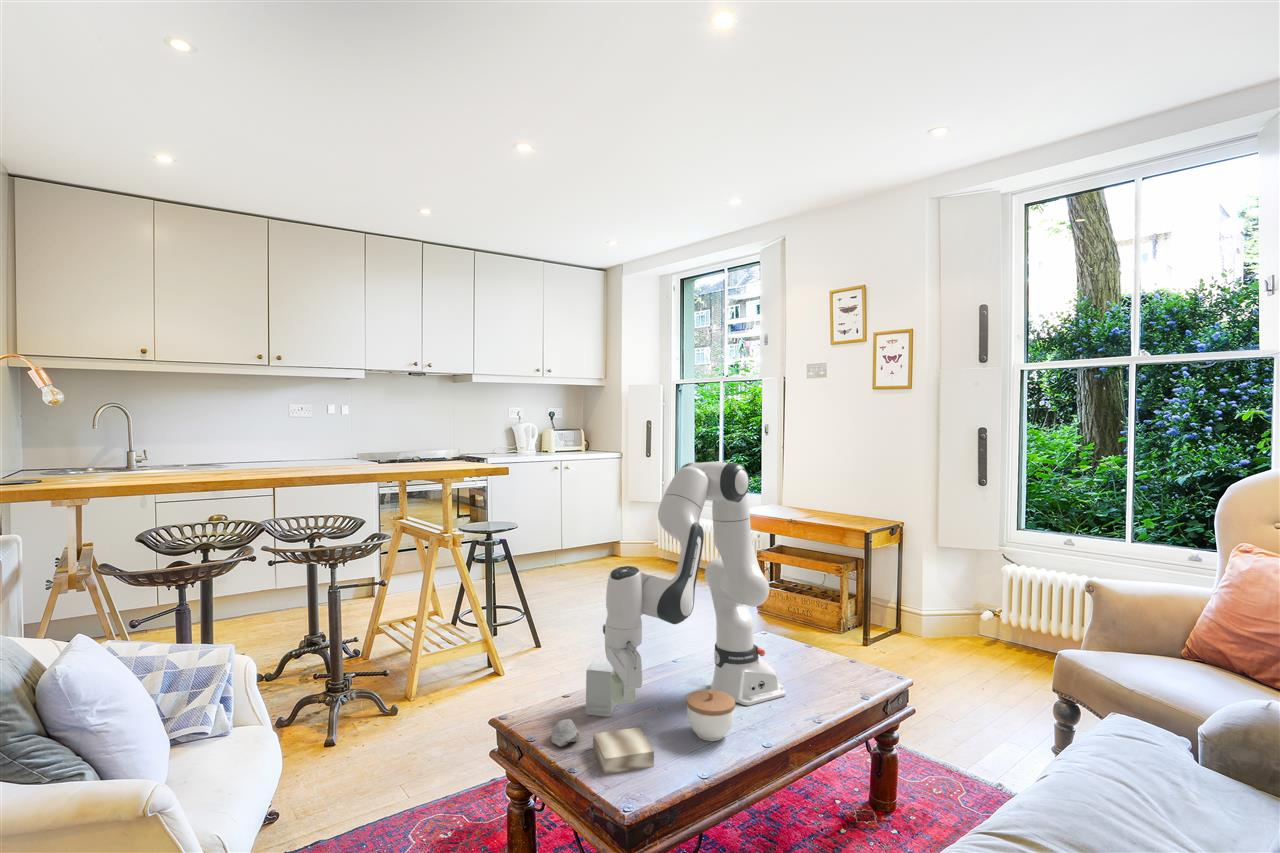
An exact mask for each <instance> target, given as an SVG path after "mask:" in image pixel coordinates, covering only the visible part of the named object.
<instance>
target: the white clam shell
mask: <svg viewBox="0 0 1280 853" xmlns="http://www.w3.org/2000/svg"><path fill="white" fill-rule="evenodd" d="M550 740H551V742H552V743H553V744H555V745H556V746H557V747H560V748H561V747H564V746H566V745H568V744H569V743H575V742H578V741H579V740H580V731H578V729H577V727H576V725H575V723H574V721H573V720H572V719H570V718H566V719H562V720H560V721H558V722H557V723H556V724H555V725H554V727H553V728H552V729H551V739H550Z"/></svg>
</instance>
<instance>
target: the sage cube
mask: <svg viewBox="0 0 1280 853" xmlns="http://www.w3.org/2000/svg"><path fill="white" fill-rule="evenodd" d="M623 687H624V685H623V682H622V680H621V679H620V677H619V676H618V674H614V675H610V696H611V698H612V700H613V701H614V703H615V704H616V705H618V704H619V705H620V704H627V703H634V702H636V690H637V688H636V689H632V690H631V698H629V699H624V697H623V696H622V689H623Z"/></svg>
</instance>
